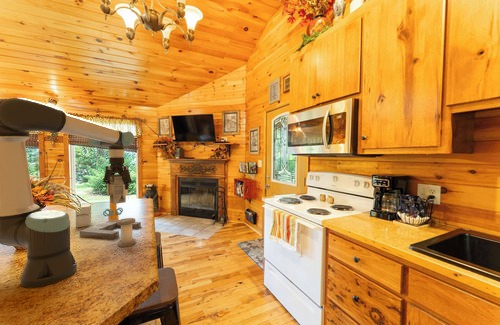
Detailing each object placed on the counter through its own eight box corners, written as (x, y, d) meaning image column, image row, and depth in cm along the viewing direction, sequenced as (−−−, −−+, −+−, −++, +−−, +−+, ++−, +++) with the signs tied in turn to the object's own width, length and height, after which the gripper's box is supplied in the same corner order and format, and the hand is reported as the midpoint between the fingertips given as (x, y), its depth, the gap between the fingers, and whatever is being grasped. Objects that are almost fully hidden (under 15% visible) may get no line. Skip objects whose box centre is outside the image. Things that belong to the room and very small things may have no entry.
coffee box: (109, 201, 127) (108, 174, 126) (121, 200, 131) (120, 174, 131) (113, 204, 120) (113, 175, 120) (126, 202, 125) (125, 174, 125)
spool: (127, 247, 104) (127, 223, 104) (113, 246, 106) (113, 222, 105) (139, 241, 112) (139, 218, 111) (126, 240, 113) (125, 217, 113)
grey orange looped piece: (106, 225, 139) (105, 202, 139) (100, 222, 146) (99, 200, 145) (126, 220, 149) (125, 199, 149) (119, 217, 155) (119, 197, 155)
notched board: (112, 239, 115) (112, 233, 115) (79, 236, 119) (79, 230, 119) (140, 226, 135) (140, 222, 135) (111, 224, 140) (111, 220, 140)
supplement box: (75, 227, 134) (74, 207, 134) (77, 224, 141) (77, 205, 140) (89, 225, 138) (89, 206, 137) (91, 222, 144) (91, 204, 144)
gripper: (138, 156, 126) (139, 194, 127) (106, 157, 131) (107, 193, 132) (128, 156, 119) (129, 196, 120) (94, 157, 124) (95, 195, 125)
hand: (117, 194), depth 126 cm, fingers closed on coffee box, 10 cm apart
